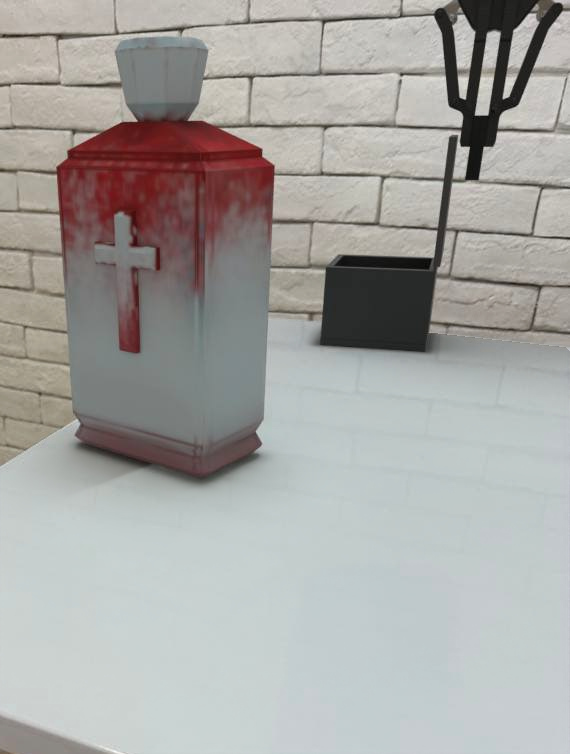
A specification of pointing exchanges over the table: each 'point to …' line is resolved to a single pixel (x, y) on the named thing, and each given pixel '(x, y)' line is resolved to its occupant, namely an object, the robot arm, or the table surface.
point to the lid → (445, 200)
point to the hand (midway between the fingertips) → (471, 179)
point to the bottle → (167, 272)
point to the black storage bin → (378, 302)
